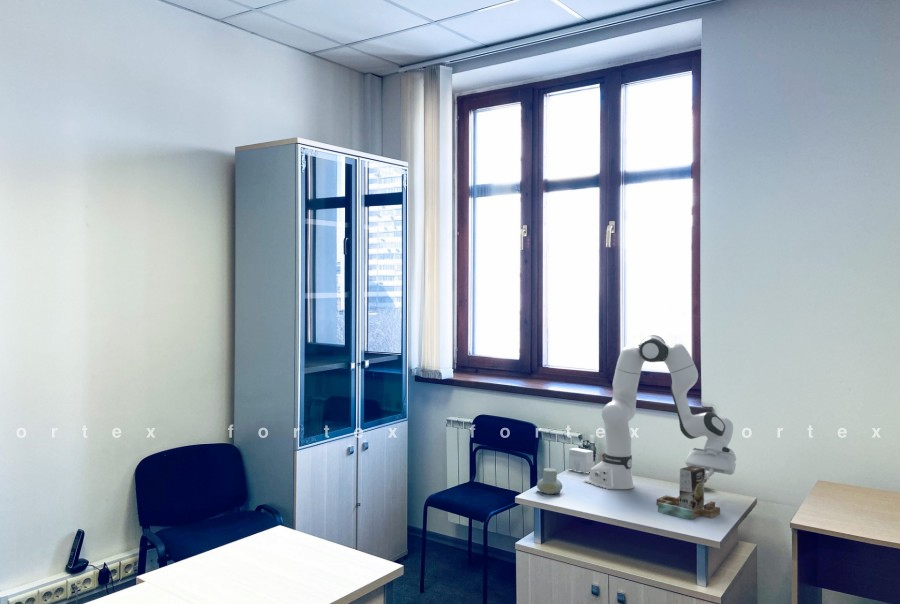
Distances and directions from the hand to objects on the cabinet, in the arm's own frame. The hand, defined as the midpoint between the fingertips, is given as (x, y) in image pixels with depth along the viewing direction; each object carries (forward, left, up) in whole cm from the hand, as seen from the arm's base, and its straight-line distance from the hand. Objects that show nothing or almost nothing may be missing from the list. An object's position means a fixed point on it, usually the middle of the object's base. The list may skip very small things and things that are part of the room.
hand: (704, 478), depth 286 cm
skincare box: (-65, +5, -10) cm, 66 cm away
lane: (0, -16, -10) cm, 19 cm away
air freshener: (-53, -37, -10) cm, 65 cm away
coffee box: (0, -12, -10) cm, 16 cm away
